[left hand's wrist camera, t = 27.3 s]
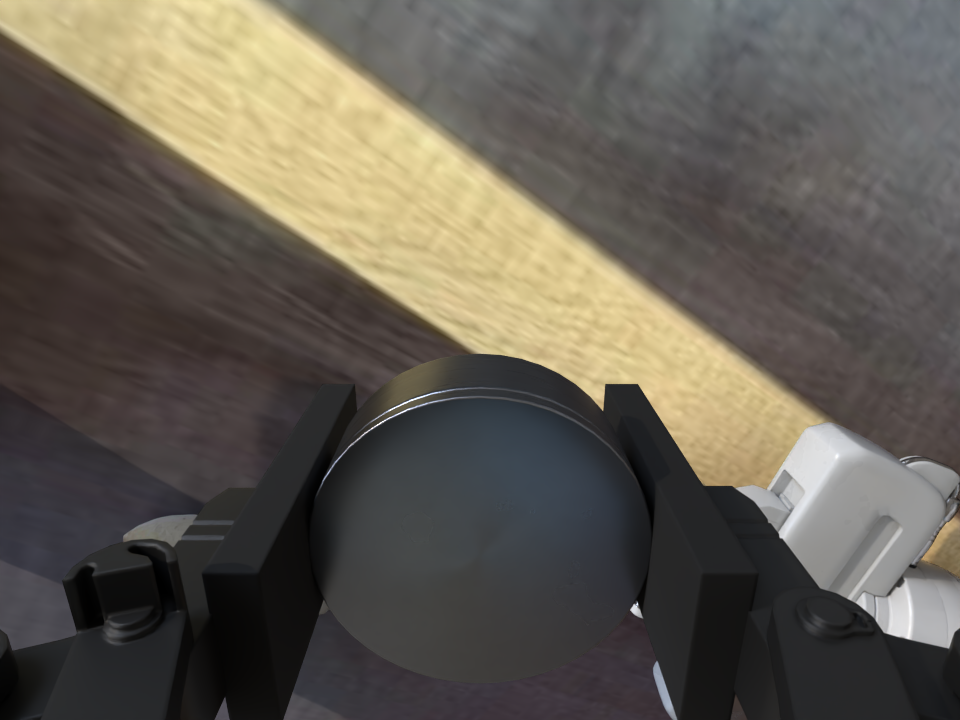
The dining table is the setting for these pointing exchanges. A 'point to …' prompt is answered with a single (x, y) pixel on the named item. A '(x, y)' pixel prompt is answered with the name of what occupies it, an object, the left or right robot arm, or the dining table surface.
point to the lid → (480, 522)
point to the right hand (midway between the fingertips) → (659, 550)
